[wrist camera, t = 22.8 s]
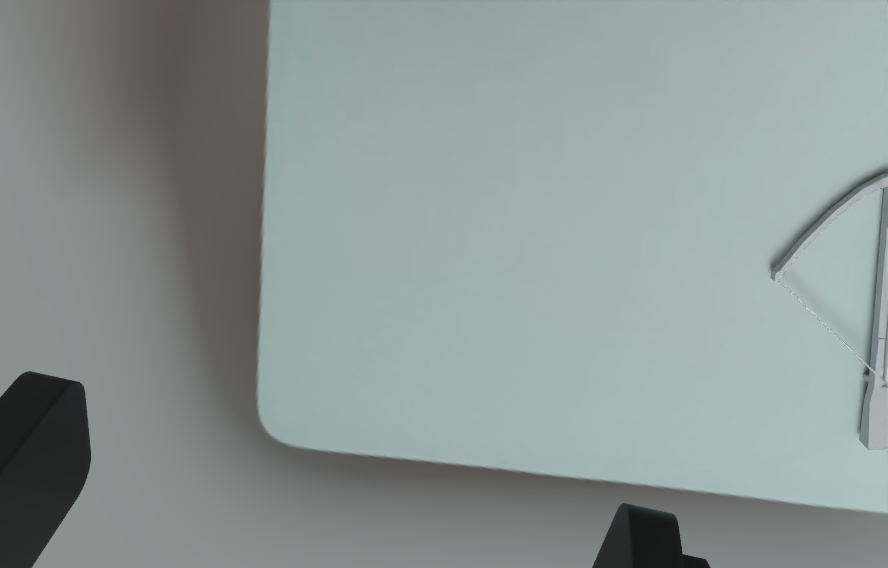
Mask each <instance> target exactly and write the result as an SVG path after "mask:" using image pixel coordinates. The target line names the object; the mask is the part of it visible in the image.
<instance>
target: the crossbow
mask: <svg viewBox="0 0 888 568" xmlns="http://www.w3.org/2000/svg"><path fill="white" fill-rule="evenodd" d="M882 188H884V195H883V208H882V221H881V233H880V246H879V259H878V271H877V284H876V297H875V309H874V322H873V335H872V347H871V360H870V367H869V366H868V365H867V364H866V363H865V362H864V361H863V360H862V359H861V358H860V357H859V356H858V355H857V354H856V353H855V352H854V351H853V350H852V349H851V348H850V347H849V346H848V345H847V344H846V343H845V342H844V341H843V340H841V339H840V338H839V337H838V336H837V335H836V334H835V333H834V332H833V331H832V330H831V329H830V328H829V327H828V326H827V325H826V324H825V323H824V322H823V321H822V320H821V319H820V318H819V317H818V316H817V315H816V314H815V313H814V312H812V311H811V310H810V309H809V308H808V307H807V306H806V305H805V304H804V303H803V302H802V301H801V300H800V299H799V298H798V297H797V296H796V295H795V294H794V293H793V292H792V291H791V290H790V289H789V288H788V287H787V286H786V285H785V284H783V283H782V282H781V281H780V280H779V279H780V278H781V276H782V275H783V274H784V273H785V272H786V270H787V269H788V268H789V267H790V266H791V264H792V263H793V262H794V261H795V260H796V258H797V257H798V256H799V255H800V254H801V252H802V251H803V250H804V249H805V248H806V247H807V246H808V245H809V244H810V243H811V242H812V241H813V240H814V239H815V238H816V237H817V236H818V235H819V234H820V233H821V232H822V231H823V230H824V229H825V228H826V227H827V226H828V225H829V224H831V223H832V222H833V221H834V220H835V219H836V218H837V217H838V216H840V215H841V214H842V213H843V212H845V211H846V210H847V209H848V208H850V207H851V206H852V205H853V204H855V203H856V202H857V201H858V200H860V199H861V198H862V197H864V196H866V195H868V194H870V193H872V192H874V191H876V190H878V189H882ZM771 279H772V280H774V281H777V280H778V281H779V282H780V283H781V284H782V285H783V286H784V287H785V288H786V289H787V290H788V291H789V292H790V293H791V294H792V295H793V296H794V297H796V298H797V299H798V300H799V301H800V302H801V303H802V304H803V305H804V306H805V307H806V308H807V309H808V310H809V311H810V312H811V313H812V314H813V315H814V316H815V317H816V318H817V319H818V320H819V321H820V322H821V323H822V324H824V325H825V326H826V327H827V328H828V329H829V330H830V331H831V332H832V333H833V334H834V335H835V336H836V337H837V338H838V339H839V340H840V341H841V342H842V343H843V344H844V345H845V346H846V347H847V348H848V349H849V350H850V351H851V352H853V353H854V354H855V355H856V356H857V357H858V358H859V359H860V360H861V361H862V362H863V363H864V364H865V365H866V366H867V367H868V368H869V369H870V373H869V374H867V375H863V378H864V379H865V380H866V381H867V382H868V383H869V384H868V387H867V391H866V395H865V398H864V406H863V414H862V421H861V429H860V437H859V440H860V441H861V442H862V443H863V445H864V446H865V447H866V448H867V449H868V450H872V449H888V174H886V173H884V174H881V175H879V176H876V177H875V178H874V179H872V180H870V181H868V182H866V183H864V184H862V185H860V186H858V187H857V188H855V189H854V190H853V191H852V192H850V193H849V194H848V195H847V196H845V197H844V198H843V199H842V200H840V201H839V202H838V203H837V204H836V205H834V206H833V207H832V208H831V209H829V210H828V211H827V212H826V213H825V214H824V215H823V216H822V217H821V218H820V219H819V220H818V221H817V222H816V223H815V224H814V225H813V226H812V227H811V228H810V229H809V230H808V231H807V232H806V233H805V234H804V235H803V236H802V237H801V238H800V239H799V240H798V241H797V243H796V244H795V245H794V246H793V247H792V249H791V250H790V251H789V252H788V253H787V255H786V256H785V257H784V258H783V259H782V261H781V262H780V263H779V264H778V266H776V267H775V268H773V269H772V270H771Z"/></svg>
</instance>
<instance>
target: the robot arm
mask: <svg viewBox="0 0 888 568" xmlns="http://www.w3.org/2000/svg"><path fill="white" fill-rule="evenodd" d="M86 408H87V407H86V398H85V390H84V387H83V385H82V384H81V383H80V382H76V381H72V380H67V379H63V378H58V377H54V376H49V375H44V374H40V373H35V372H31V371H29V372H25V373H23V374H22V375H20V376H19V377H18V378H17V379H16V380H15V381H14V383H13V384H12V385H11V386H10V387H9V388H8V389H7V391H6V392H5V393H4V394H3V395H2V396H1V397H0V568H32V566H33V565H34V563H35V562H36V560H37V559H38V557H39V555H40V554H41V552H42V551H43V549H44V548H45V546H46V545H47V543H48V542H49V540H50V539H51V537H52V536H53V534H54V533H55V531H56V530H57V528H58V527H59V525H60V524H61V522H62V521H63V519H64V518H65V516H66V514H67V513H68V511H69V510H70V508H71V507H72V505H73V504H74V502H75V501H76V499H77V498H78V496H79V494H80V492H81V491H82V489H83V486H84V484H85V481H86V479H87V475H88V472H89V468H90V462H91V449H90V438H89V428H88V418H87V409H86ZM592 568H710V566H709V564H708V563H707V561H706V559H702V558H697V557H692V556H688V555H684V554H682V547H681V540H680V533H679V526H678V521H677V519H676V517H675V515H674V514H672V513H667V512H663V511H658V510H653V509H648V508H644V507H639V506H635V505H631V504H625V503H623V504H621V505H620V507H619V508H618V510H617V512H616V514H615V517H614V519H613V521H612V524H611V526H610V528H609V530H608V533H607V535H606V537H605V540H604V542H603V544H602V547H601V549H600V551H599V553H598V556H597V558H596V560H595V562H594V565H593V567H592Z"/></svg>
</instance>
